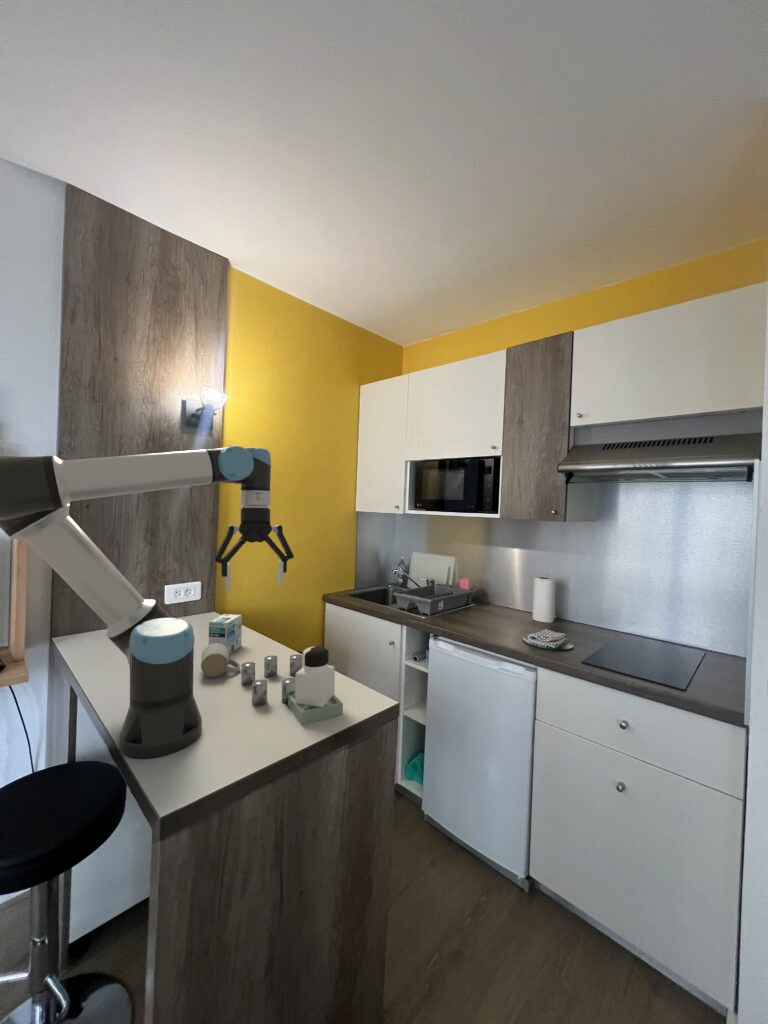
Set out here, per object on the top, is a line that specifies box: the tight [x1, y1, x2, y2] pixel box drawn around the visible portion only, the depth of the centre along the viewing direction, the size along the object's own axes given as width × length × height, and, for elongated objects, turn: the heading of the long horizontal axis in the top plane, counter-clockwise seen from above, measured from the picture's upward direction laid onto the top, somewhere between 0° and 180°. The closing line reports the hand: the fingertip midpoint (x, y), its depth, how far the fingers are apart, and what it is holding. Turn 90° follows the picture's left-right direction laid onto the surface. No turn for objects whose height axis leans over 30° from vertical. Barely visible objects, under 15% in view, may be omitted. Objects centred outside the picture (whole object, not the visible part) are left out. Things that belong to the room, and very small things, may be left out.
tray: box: [287, 694, 344, 726], centre depth 100 cm, size 10×10×3 cm
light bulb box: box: [208, 613, 243, 655], centre depth 141 cm, size 11×7×11 cm, turn 174°
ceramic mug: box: [200, 643, 241, 679], centre depth 121 cm, size 11×8×8 cm
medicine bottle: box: [294, 646, 336, 707], centre depth 100 cm, size 7×7×12 cm
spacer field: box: [240, 653, 303, 707], centre depth 112 cm, size 17×22×5 cm
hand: (254, 587), depth 112 cm, fingers open, 13 cm apart
